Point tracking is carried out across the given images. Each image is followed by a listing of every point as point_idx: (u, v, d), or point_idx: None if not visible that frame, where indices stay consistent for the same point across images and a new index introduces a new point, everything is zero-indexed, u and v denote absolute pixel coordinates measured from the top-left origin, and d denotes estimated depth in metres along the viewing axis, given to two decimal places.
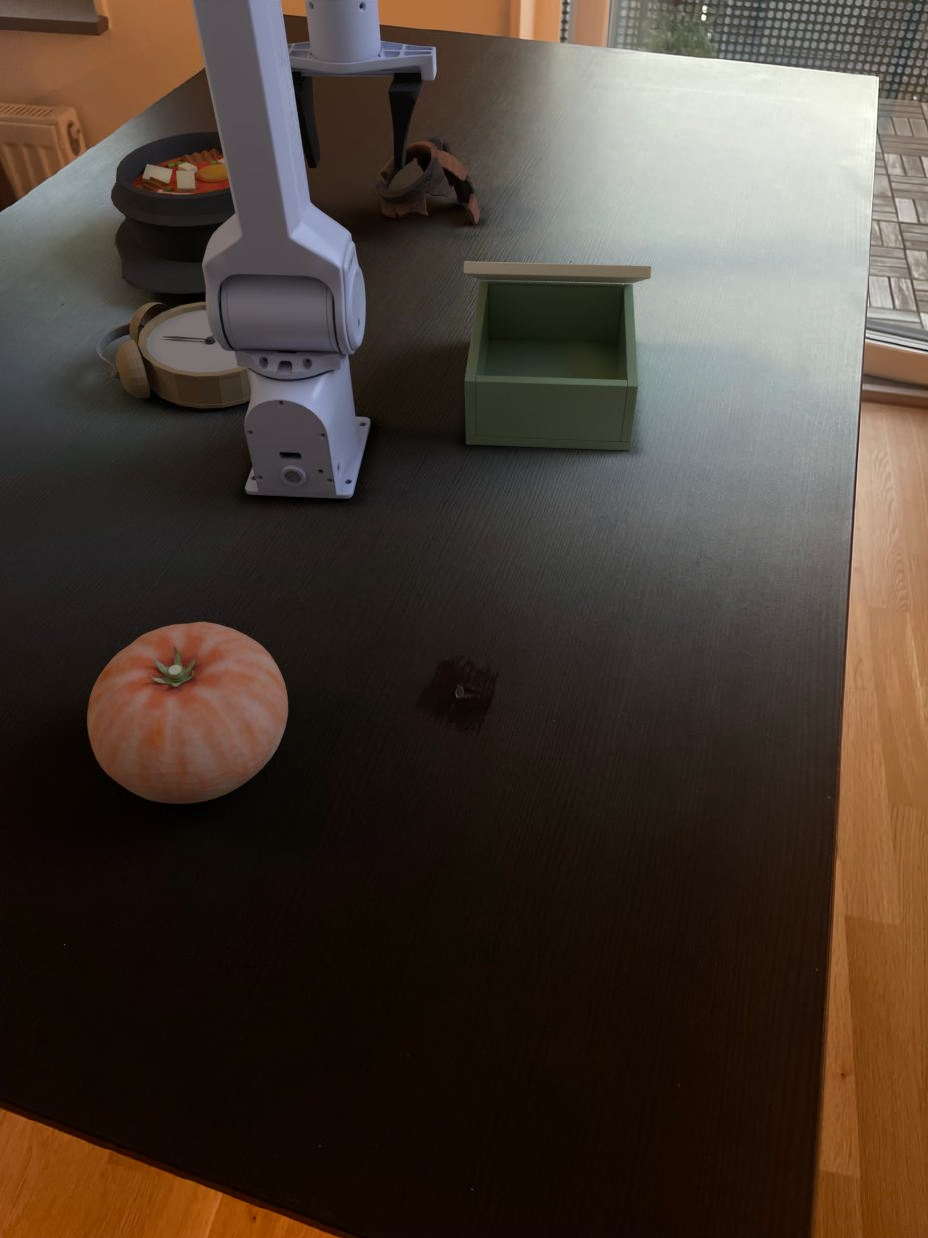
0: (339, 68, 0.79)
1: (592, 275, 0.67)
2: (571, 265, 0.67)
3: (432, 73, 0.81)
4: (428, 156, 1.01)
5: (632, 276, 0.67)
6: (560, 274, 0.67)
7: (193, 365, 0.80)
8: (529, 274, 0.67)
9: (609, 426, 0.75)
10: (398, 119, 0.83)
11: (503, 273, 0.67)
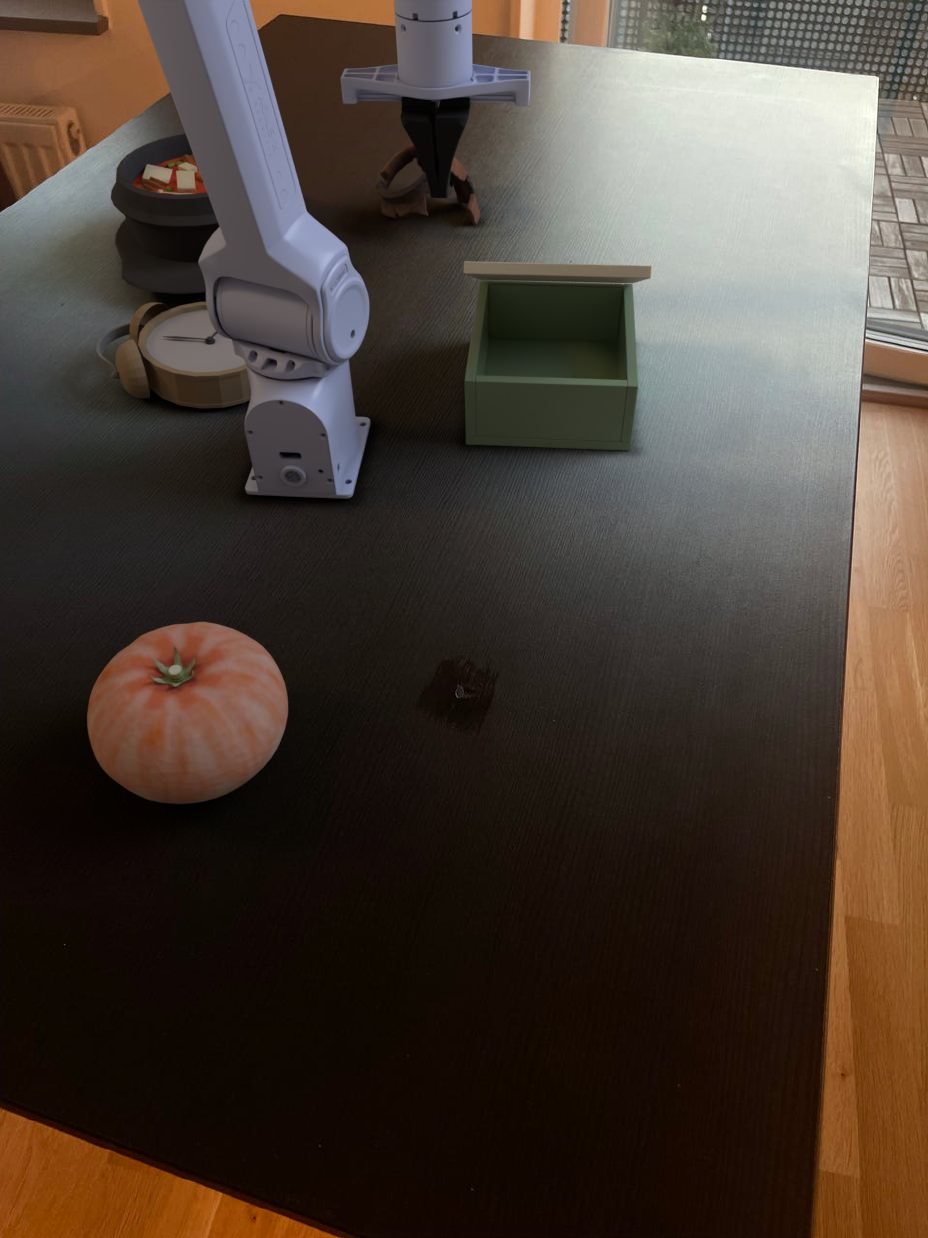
0: (430, 94, 0.75)
1: (592, 275, 0.67)
2: (571, 265, 0.67)
3: (527, 98, 0.76)
4: None
5: (632, 276, 0.67)
6: (560, 274, 0.67)
7: (193, 365, 0.80)
8: (529, 274, 0.67)
9: (609, 426, 0.75)
10: (444, 146, 0.78)
11: (503, 273, 0.67)
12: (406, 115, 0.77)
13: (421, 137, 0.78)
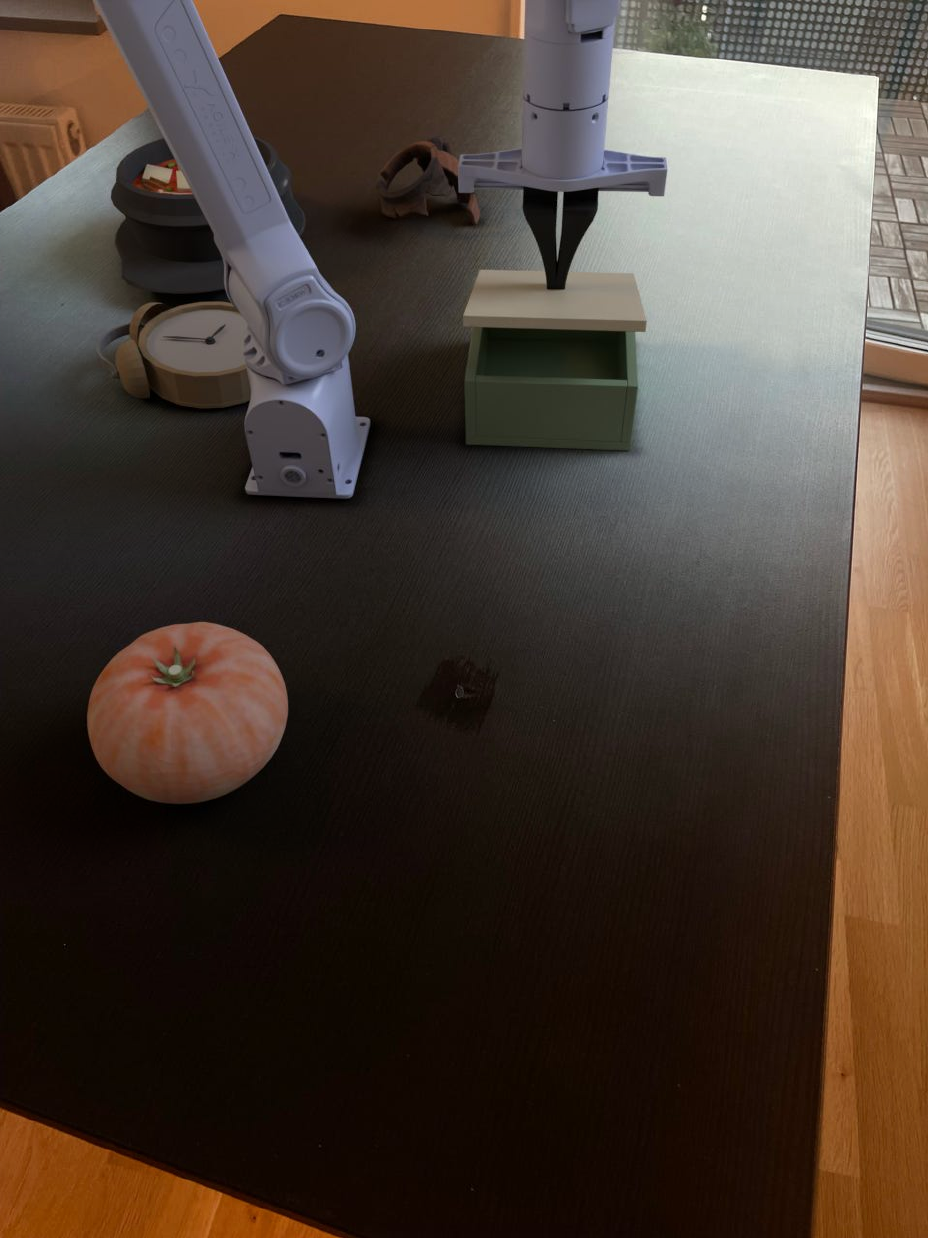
0: (560, 186, 0.68)
1: (588, 329, 0.68)
2: (568, 319, 0.68)
3: (663, 189, 0.69)
4: (428, 156, 1.01)
5: (628, 330, 0.68)
6: (557, 328, 0.69)
7: (193, 365, 0.80)
8: (527, 327, 0.69)
9: (609, 426, 0.75)
10: (568, 238, 0.72)
11: (501, 326, 0.69)
12: (529, 205, 0.70)
13: (544, 229, 0.71)
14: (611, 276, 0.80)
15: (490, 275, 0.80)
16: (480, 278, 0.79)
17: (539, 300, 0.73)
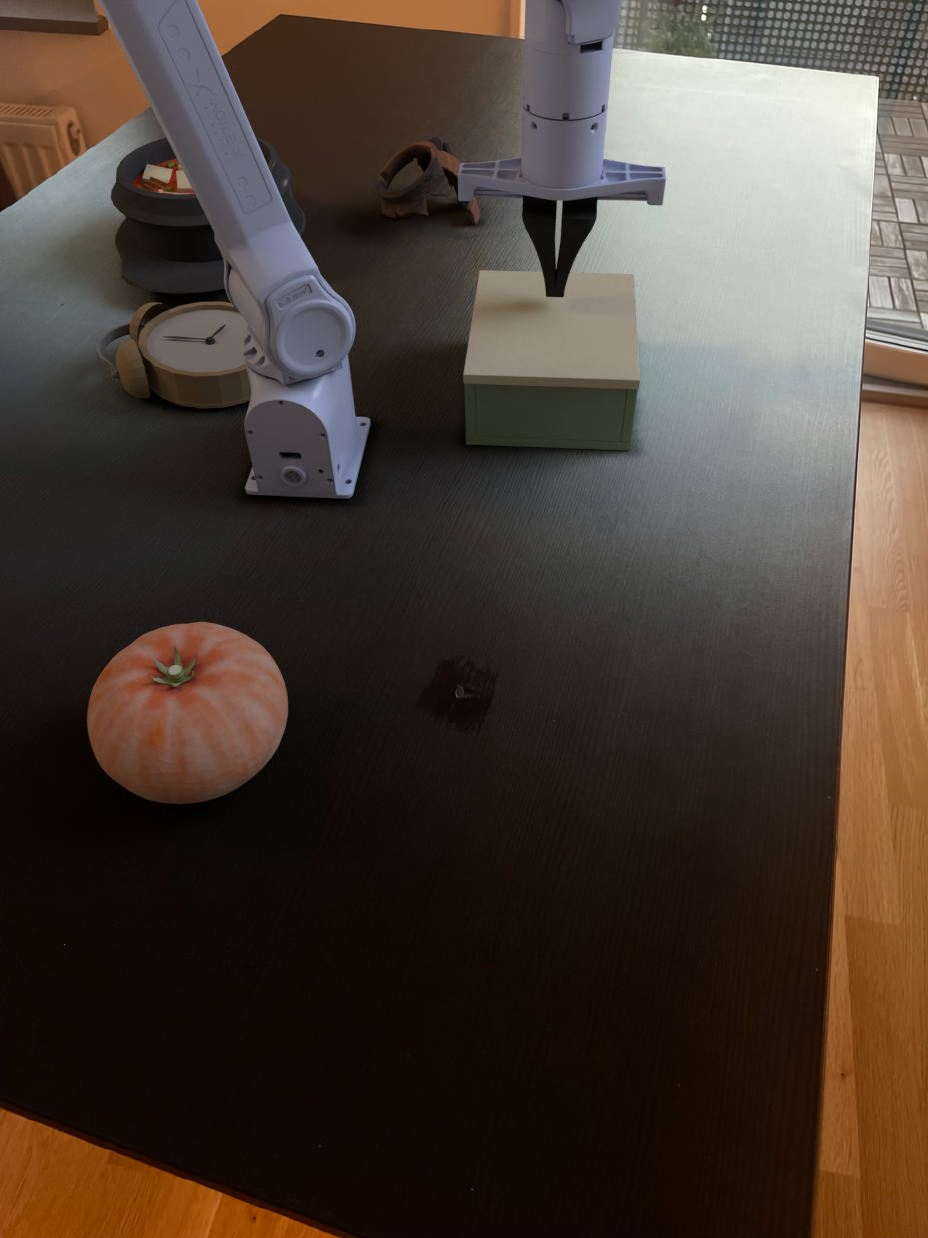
0: (559, 195, 0.68)
1: (584, 386, 0.71)
2: (564, 378, 0.71)
3: (662, 198, 0.70)
4: (428, 156, 1.01)
5: (622, 388, 0.71)
6: (554, 385, 0.71)
7: (193, 365, 0.80)
8: (525, 384, 0.72)
9: (609, 426, 0.75)
10: (567, 246, 0.72)
11: (500, 384, 0.72)
12: (528, 214, 0.71)
13: (543, 237, 0.72)
14: (611, 282, 0.80)
15: (490, 283, 0.80)
16: (480, 291, 0.79)
17: (537, 339, 0.74)
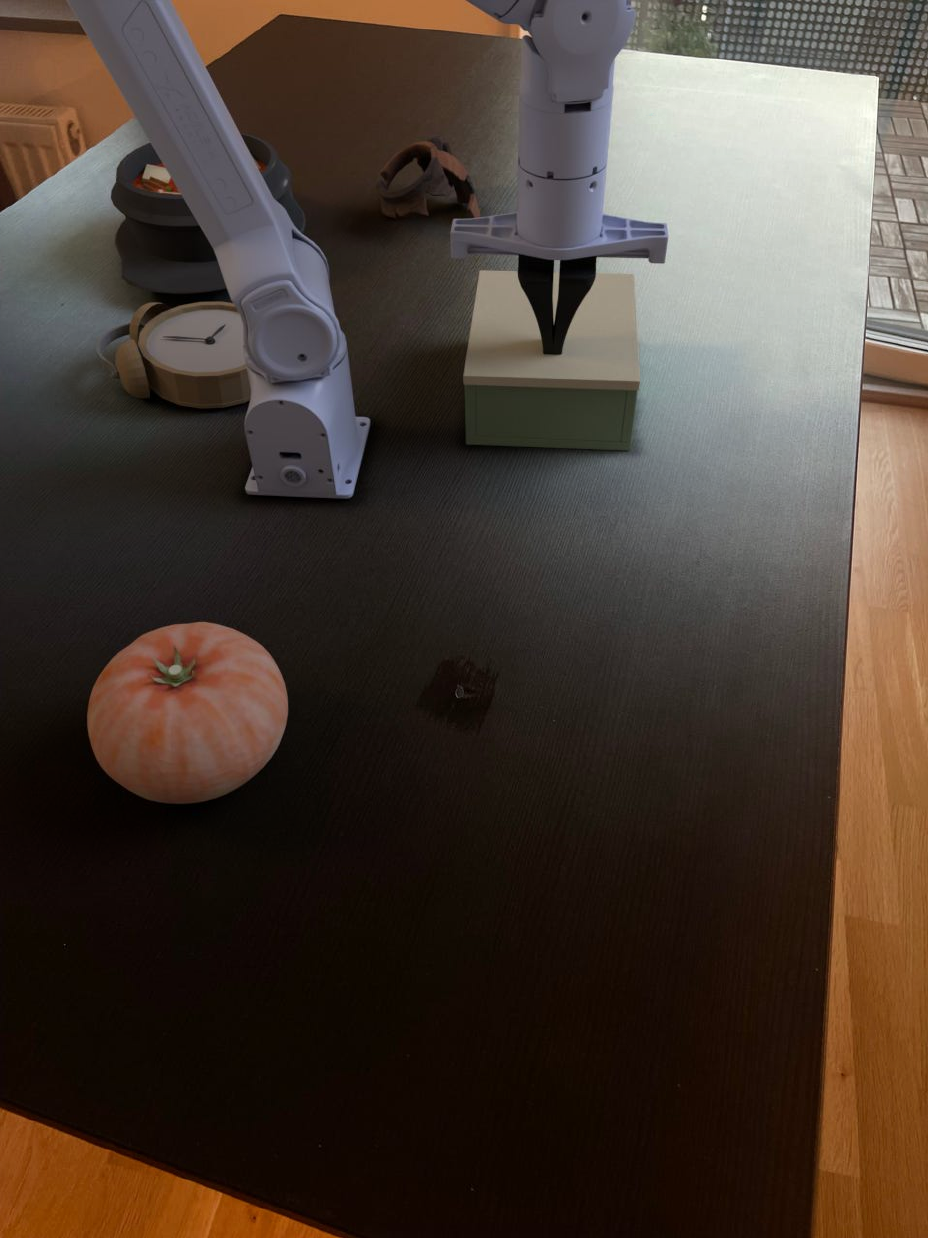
0: (556, 254, 0.65)
1: (584, 388, 0.71)
2: (564, 379, 0.71)
3: (664, 256, 0.67)
4: (428, 156, 1.01)
5: (622, 389, 0.71)
6: (554, 386, 0.71)
7: (193, 365, 0.80)
8: (525, 385, 0.72)
9: (609, 426, 0.75)
10: (565, 305, 0.69)
11: (500, 385, 0.72)
12: (524, 273, 0.68)
13: (540, 296, 0.68)
14: (611, 282, 0.80)
15: (490, 284, 0.80)
16: (480, 291, 0.79)
17: (537, 340, 0.74)
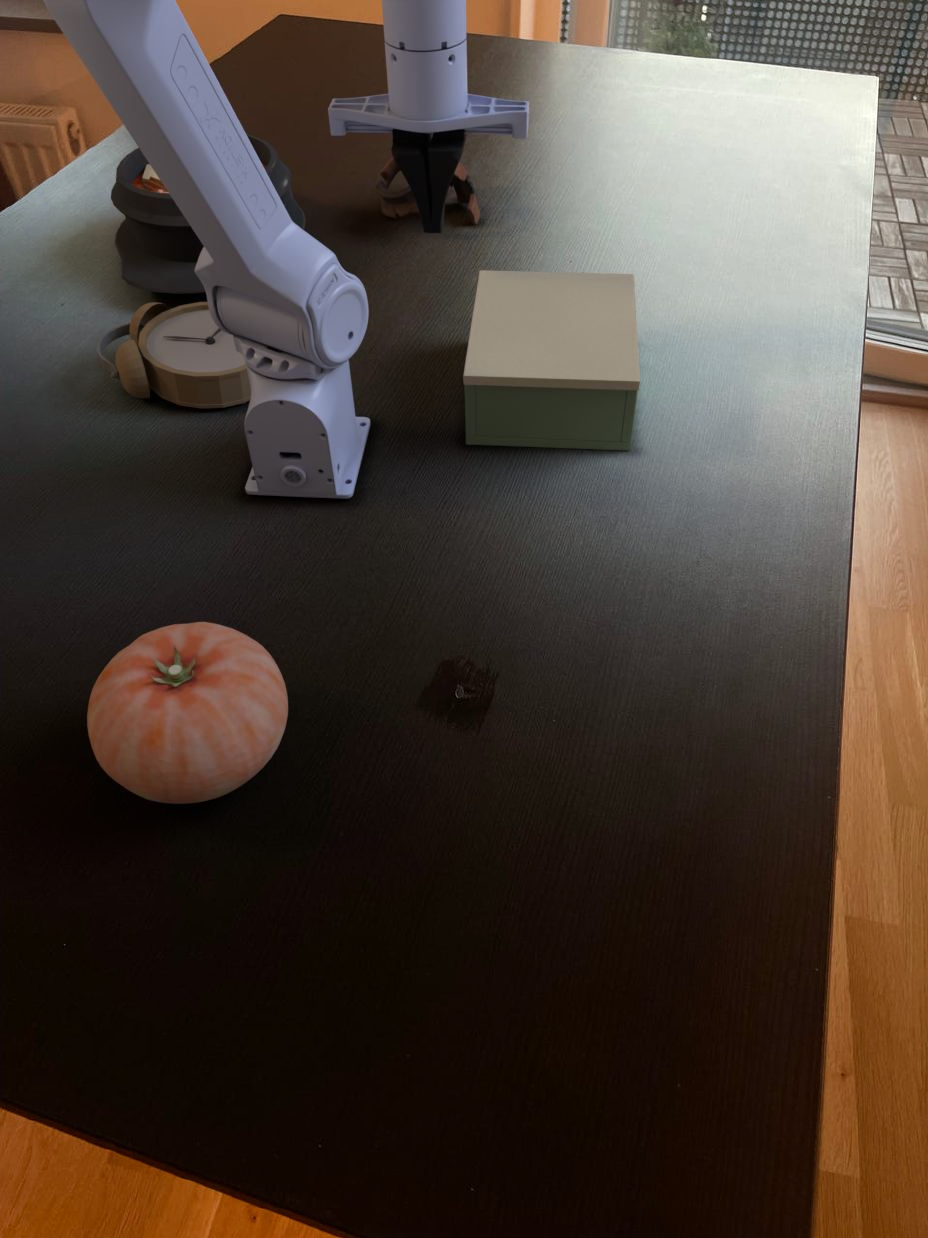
0: (422, 126, 0.71)
1: (584, 388, 0.71)
2: (564, 379, 0.71)
3: (525, 131, 0.72)
4: None
5: (622, 389, 0.71)
6: (554, 386, 0.71)
7: (193, 365, 0.80)
8: (525, 385, 0.72)
9: (609, 426, 0.75)
10: (438, 180, 0.74)
11: (500, 385, 0.72)
12: (397, 147, 0.73)
13: (413, 171, 0.74)
14: (611, 282, 0.80)
15: (490, 284, 0.80)
16: (480, 291, 0.79)
17: (537, 340, 0.74)
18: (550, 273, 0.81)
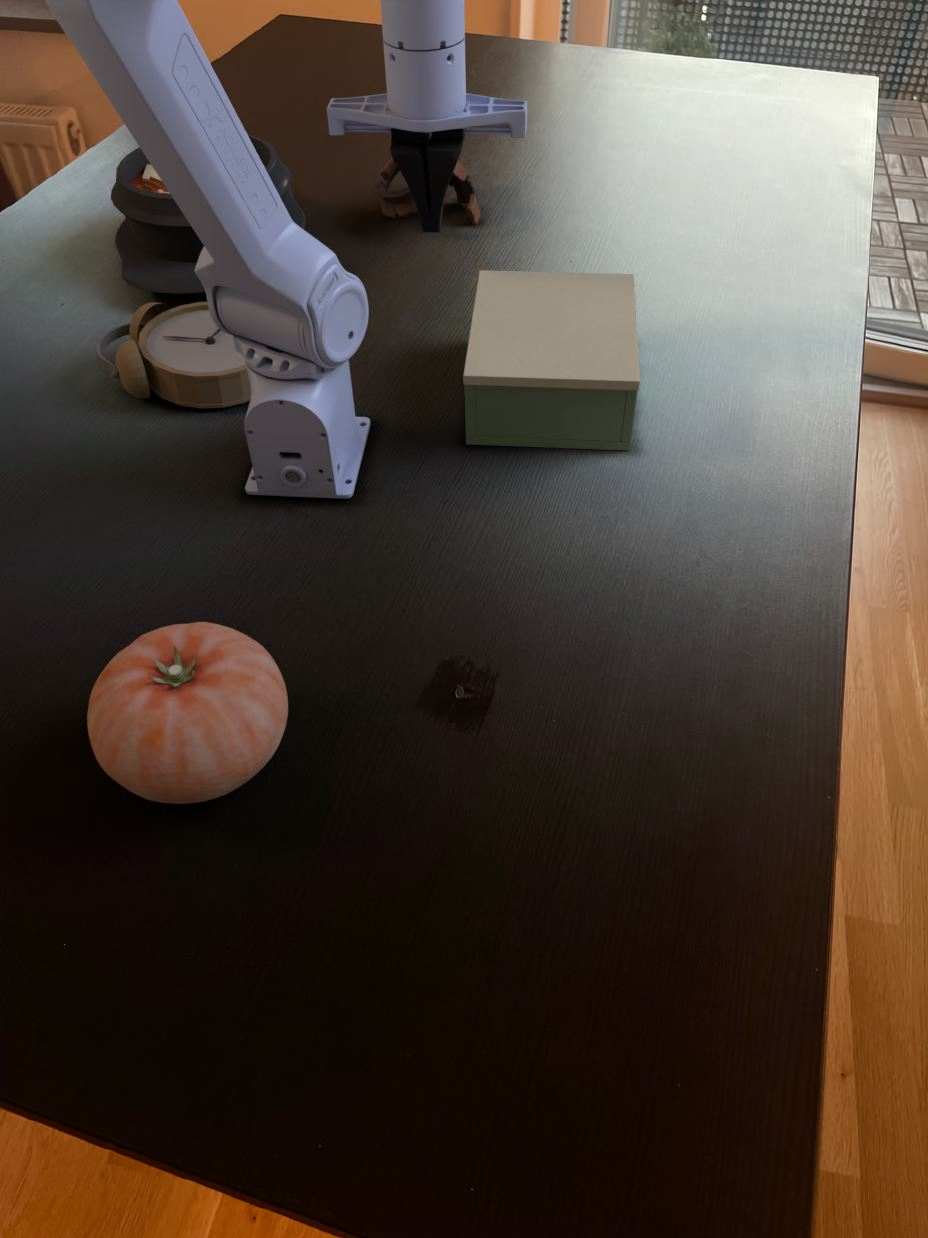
0: (421, 126, 0.71)
1: (584, 388, 0.71)
2: (564, 379, 0.71)
3: (524, 130, 0.72)
4: None
5: (622, 389, 0.71)
6: (554, 386, 0.71)
7: (193, 365, 0.80)
8: (525, 385, 0.72)
9: (609, 426, 0.75)
10: (436, 179, 0.74)
11: (500, 385, 0.72)
12: (396, 147, 0.73)
13: (412, 170, 0.74)
14: (611, 282, 0.80)
15: (490, 284, 0.80)
16: (480, 291, 0.79)
17: (537, 340, 0.74)
18: (550, 273, 0.81)
